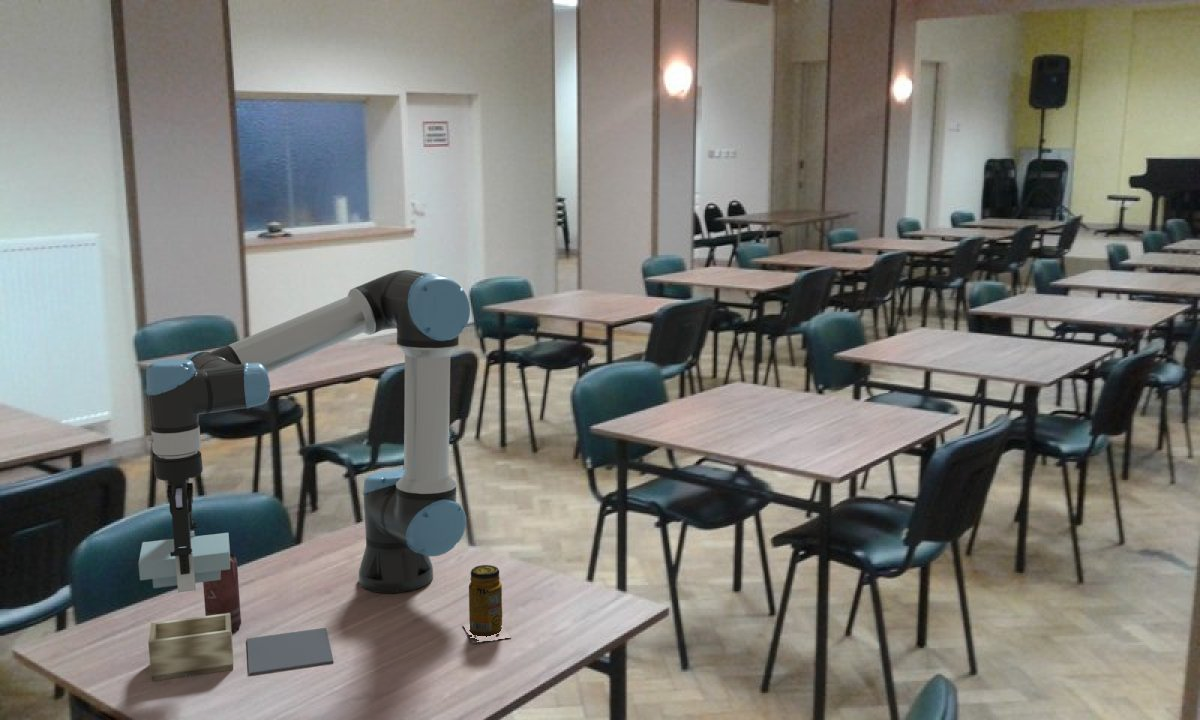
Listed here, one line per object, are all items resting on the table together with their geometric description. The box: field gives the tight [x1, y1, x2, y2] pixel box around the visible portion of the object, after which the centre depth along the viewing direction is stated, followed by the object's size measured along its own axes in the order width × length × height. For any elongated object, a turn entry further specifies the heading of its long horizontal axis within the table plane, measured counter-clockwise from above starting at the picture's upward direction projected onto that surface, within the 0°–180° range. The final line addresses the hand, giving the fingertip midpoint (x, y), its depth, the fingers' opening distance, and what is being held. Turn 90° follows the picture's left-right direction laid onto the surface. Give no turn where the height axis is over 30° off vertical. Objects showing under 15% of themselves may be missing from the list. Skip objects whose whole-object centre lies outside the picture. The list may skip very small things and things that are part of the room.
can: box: [202, 552, 242, 633], centre depth 201 cm, size 6×6×14 cm
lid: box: [138, 532, 231, 589], centre depth 184 cm, size 14×10×6 cm
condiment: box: [466, 564, 503, 644], centre depth 199 cm, size 7×8×12 cm
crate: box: [147, 613, 234, 682], centre depth 187 cm, size 13×8×7 cm, turn 109°
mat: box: [246, 627, 334, 676], centre depth 192 cm, size 14×14×1 cm
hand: (187, 578), depth 185 cm, fingers closed on lid, 10 cm apart
